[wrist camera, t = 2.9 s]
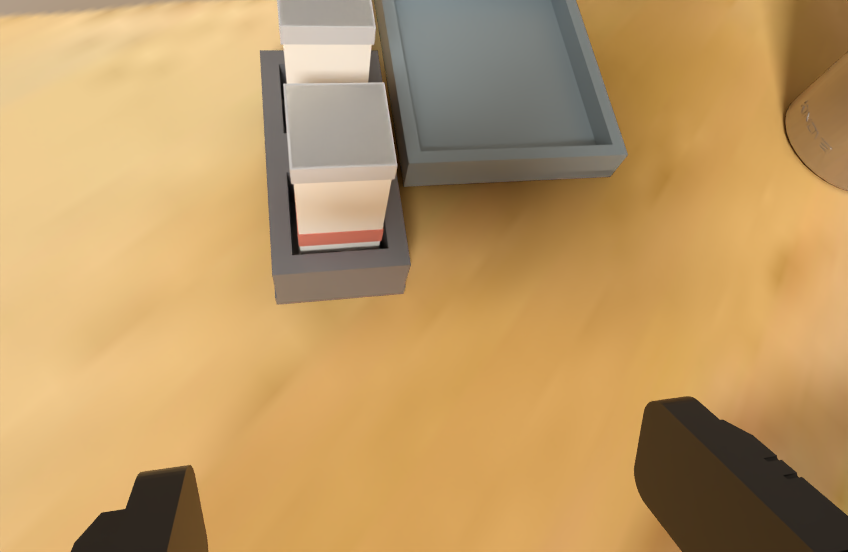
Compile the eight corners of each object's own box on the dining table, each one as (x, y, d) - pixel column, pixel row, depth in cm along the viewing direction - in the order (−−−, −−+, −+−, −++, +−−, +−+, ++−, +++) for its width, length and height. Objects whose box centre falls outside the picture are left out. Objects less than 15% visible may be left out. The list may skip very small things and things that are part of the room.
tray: (554, 0, 44) (566, -29, 42) (609, 176, 38) (627, 154, 36) (373, -4, 41) (376, -34, 39) (403, 186, 35) (408, 163, 33)
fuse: (355, 101, 36) (365, -40, 27) (363, 157, 35) (375, 27, 26) (287, 103, 35) (274, -43, 26) (292, 160, 34) (279, 26, 25)
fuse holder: (374, 95, 38) (379, 50, 34) (403, 293, 33) (412, 264, 29) (265, 97, 36) (258, 50, 33) (276, 304, 31) (270, 275, 28)
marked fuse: (369, 202, 34) (384, 82, 24) (377, 267, 32) (397, 165, 23) (295, 206, 33) (283, 83, 24) (300, 273, 31) (289, 170, 22)
